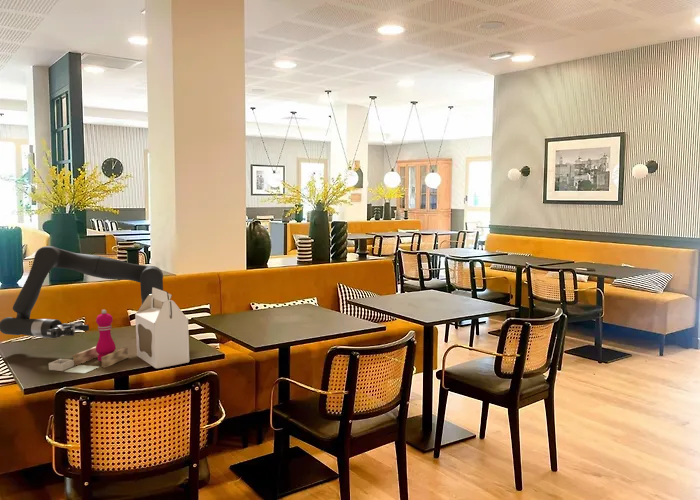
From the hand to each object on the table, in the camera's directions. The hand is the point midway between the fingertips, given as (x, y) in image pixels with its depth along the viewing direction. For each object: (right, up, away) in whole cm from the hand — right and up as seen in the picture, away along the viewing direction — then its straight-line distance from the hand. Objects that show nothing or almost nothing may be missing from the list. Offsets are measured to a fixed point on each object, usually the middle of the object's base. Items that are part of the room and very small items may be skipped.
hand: (81, 330), depth 230 cm
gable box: (+33, -11, -2) cm, 35 cm away
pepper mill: (+11, -11, -2) cm, 16 cm away
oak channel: (+10, -11, -4) cm, 16 cm away
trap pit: (-1, -12, -13) cm, 18 cm away
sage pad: (+7, -13, -15) cm, 21 cm away
